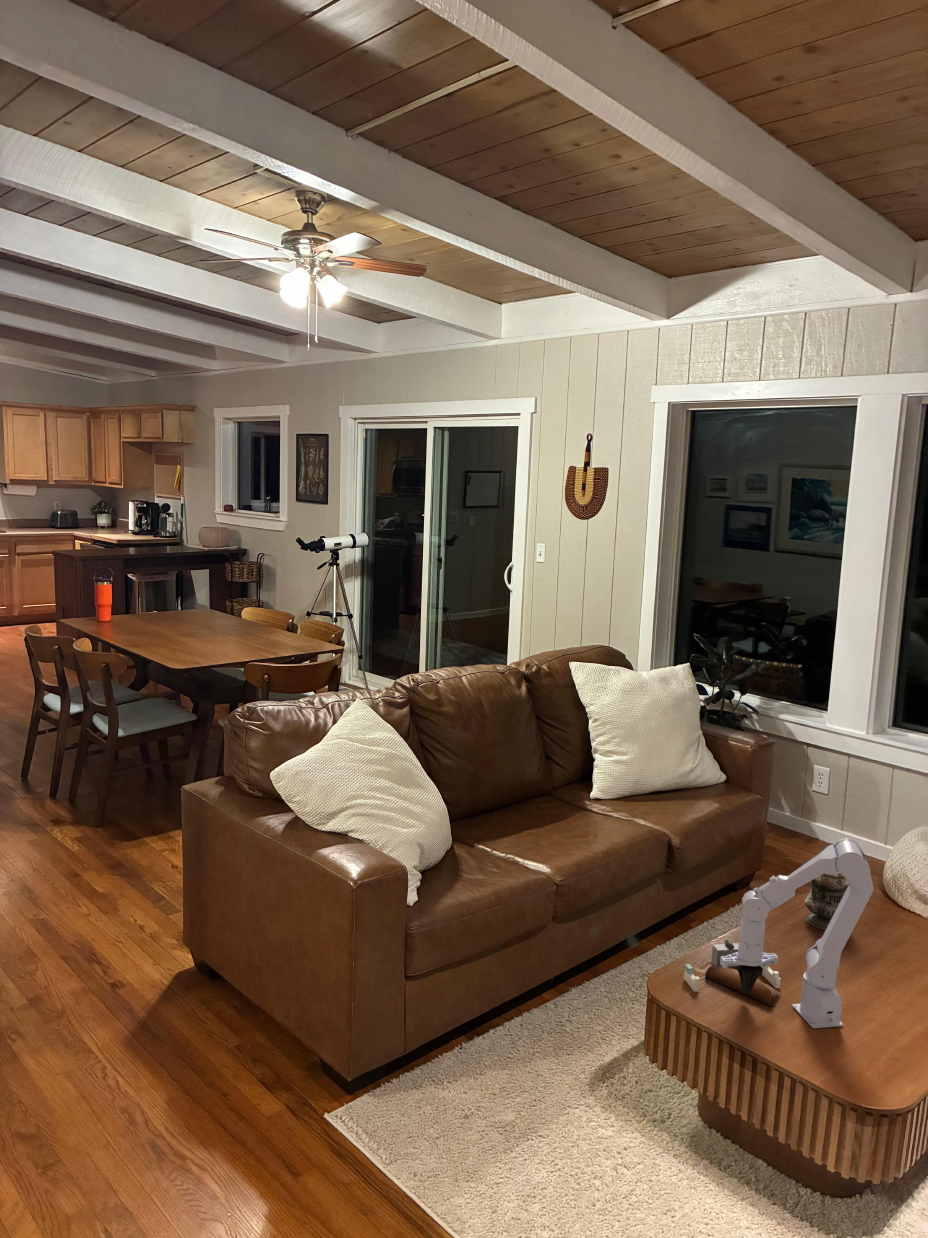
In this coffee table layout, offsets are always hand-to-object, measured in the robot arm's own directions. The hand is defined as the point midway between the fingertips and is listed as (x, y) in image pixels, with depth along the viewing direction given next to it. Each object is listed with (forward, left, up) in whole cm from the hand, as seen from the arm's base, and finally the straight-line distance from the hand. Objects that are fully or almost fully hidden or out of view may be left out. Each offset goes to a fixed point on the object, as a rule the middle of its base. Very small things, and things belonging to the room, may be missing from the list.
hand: (746, 991), depth 225 cm
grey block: (+17, -4, -3) cm, 18 cm away
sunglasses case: (+6, -3, -3) cm, 8 cm away
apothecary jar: (+35, -45, -3) cm, 57 cm away
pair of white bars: (+9, -1, -3) cm, 10 cm away
